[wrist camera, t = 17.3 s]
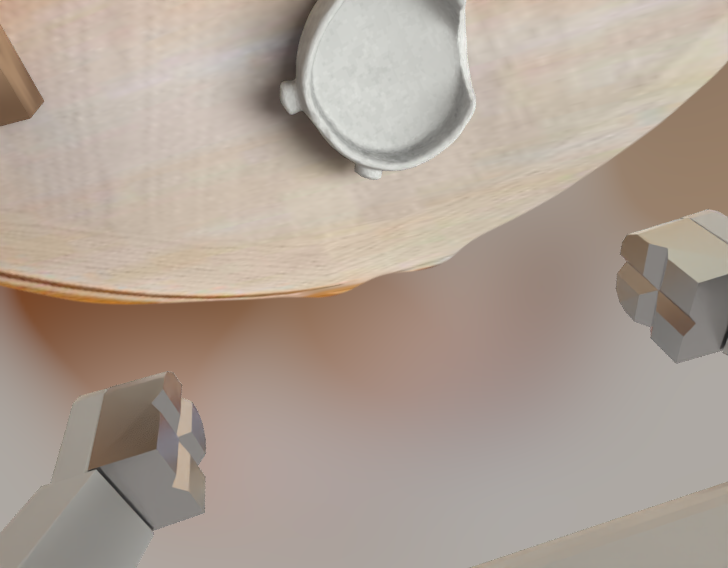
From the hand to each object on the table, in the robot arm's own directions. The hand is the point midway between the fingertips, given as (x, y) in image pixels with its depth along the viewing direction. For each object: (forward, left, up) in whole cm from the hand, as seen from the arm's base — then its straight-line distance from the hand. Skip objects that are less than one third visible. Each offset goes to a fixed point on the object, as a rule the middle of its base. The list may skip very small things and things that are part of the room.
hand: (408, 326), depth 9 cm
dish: (+6, +7, -34) cm, 36 cm away
